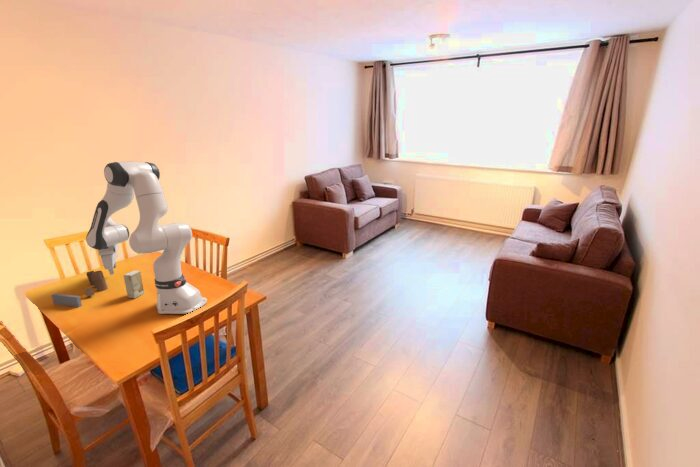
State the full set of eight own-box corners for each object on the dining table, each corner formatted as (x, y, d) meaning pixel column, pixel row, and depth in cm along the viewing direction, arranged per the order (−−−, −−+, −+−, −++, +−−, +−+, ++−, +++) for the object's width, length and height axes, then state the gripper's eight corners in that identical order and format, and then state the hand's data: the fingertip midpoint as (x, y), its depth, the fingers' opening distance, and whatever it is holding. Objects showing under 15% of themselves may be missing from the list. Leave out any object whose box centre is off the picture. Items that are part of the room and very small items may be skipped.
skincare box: (134, 298, 164) (130, 275, 160) (127, 297, 165) (122, 275, 161) (145, 292, 170) (140, 270, 166) (137, 292, 171) (133, 269, 167)
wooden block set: (86, 286, 177) (80, 268, 173) (106, 280, 182) (100, 263, 178) (87, 299, 164) (80, 281, 160) (108, 293, 168) (102, 275, 165)
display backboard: (81, 305, 157) (79, 295, 156) (78, 307, 156) (76, 297, 154) (57, 302, 160) (54, 293, 158) (54, 304, 158) (51, 294, 157)
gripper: (103, 242, 184) (108, 265, 188) (97, 253, 167) (103, 279, 171) (117, 240, 187) (122, 263, 191) (112, 251, 170) (118, 276, 174)
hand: (113, 270), depth 181 cm, fingers open, 8 cm apart
